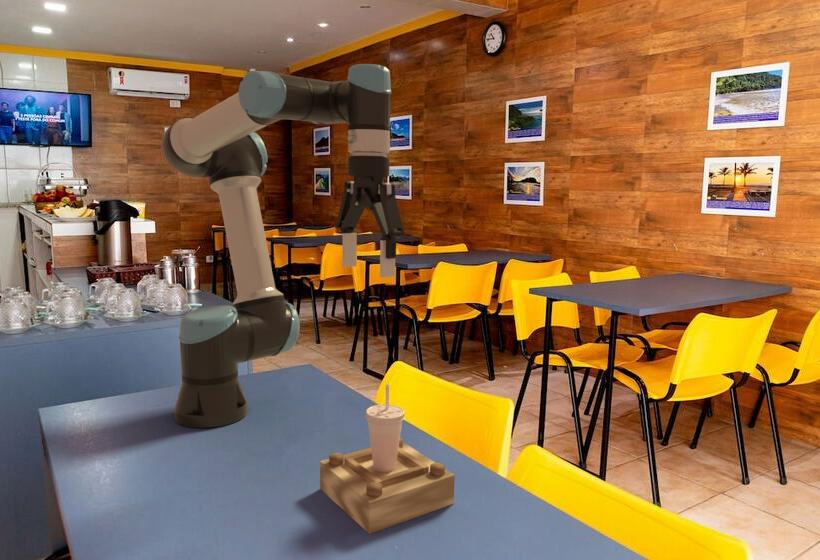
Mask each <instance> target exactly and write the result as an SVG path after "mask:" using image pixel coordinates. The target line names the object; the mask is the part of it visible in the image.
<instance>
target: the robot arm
mask: <svg viewBox="0 0 820 560" xmlns="http://www.w3.org/2000/svg"><path fill="white" fill-rule="evenodd" d="M347 73H348V74H347V80H339V81H327V80H321V79H314V78H307V77H301V76H295V75H290V74H289V75H288V74H283V73H278V72H274V71H268V70H265V71H263V70H262V71H261V70H251V71H249V72H246V74H244V75H243V77H242V78H243V80H241V81H240V83H239V86H238V87H239V88H238V91H237V92H236V93H235V94H233V95H231V96H229V97H227V98H226V99H224V100H222V101H221V102H219V103H217V104H216V105H213V106H212V107H210V108H209V109H207V110H206V111H203V112H202V113H200V114H198V115H196V116H195V117H193V118H191V117H185V118H181V119H179V120H177V121H176V122H174V123H172V124H171V125H170V126H169V127H167V129H166V130H165V132H164V133H163V134H162V135H163V136H162V139H161V151H162V154H163V157H164V159H165V161H167V163H168V165H170V167H171V168H173V170H175V171H176V172H178V173H180V174H181V175H185V176H188V177H193V178H208V181H209V186H210V189H211V190H212V191H213V192H215V193H217V195H218V197H219V203H220V208H221V209H220V210H221V214H222V218H223V223H224V229H225V235H226V238H227V239H226V241H227V245H228V251H229V255H230V261H231V266H232V271H233V277H234V283H235V288H236V292H237V296H236V298H235V300H234V301H233V302H232V305H231V304H230V305H228V304H217V305H207V306H203V307H198V308H196V309H192V310H190V311H189V312H187V313H185V315H183V316H182V318H181V320H180V324H179V337H178V339H179V345H180V346H179V349H180V366H181V367H180V368H181V385H180V388H179V390H178V391H179V392H178V395H177V399H176V402H175V404H174V421H176V423H177V424H179V425H182V426H184V427H190V428H196V429H198V428H200V429H201V428H202V429H203V428H204V429H205V428H208V429H209V428H218V427H223V426H227V425H230V424H233V423H236V422H238V421H241V420H242V419H243V418H245V416H246V415H247V414H248V401H247V398H246V395H245V393H244V391H243V387H242V385H241V382H240V379H239V364H241V363H245V362H250V361H255V360H259V359H263V358H267V357H274V356H275V357H276V356H278V355H280V354H283V353H286V352H289V351H290V350H291V349H293V347H294V346H295V345H296V342H297V340H298V337H299V335H300V328H301V327H300V326H301V325H300V317H299V314H298V311H297V309H295V306H294V305H293V304H292V303H290V302H289V303H288V301H287V302H286V300H285V296H284V293H283V292H281V291H279V290H278V289H277V288H276V283H275V278H274V274H273V271H272V270H273V268H272V262H271V260H270V254H269V248H268V242H267V239H266V232H265V227H264V221H263V218H262V212H261V207H260V201H259V195H258V190H257V189H258V186H260V184H261V182H262V176H264V174H265V172H266V171H267V166H268V165H267V164H268V153H267V148H266V146H265V143H264V141H263V139H262V138H261V136H260V135H259V134H258V133H257V132H258V131H259V130H261V129H263V128H265V127H267V126H269V125H272V124H275V123H276V122H278V121H281V120H292V121H301V122H310V123H313V124H315V125H325V126H332V125H333V124H336V125H337V124H345V123H347V124H348V125H347V131H348V133H347V134H348V135H347V137H346V138H347V141H348V143H347V145H348V146H347V151H348V153H350V154H351V155H349V156H348V157H347V175H348V176H349V177H350V178H354V179H353V181H352V180H351V181H350V180H349V181H348V180H347V181H344V184H343V185H344V186H343V195H342V199H341V203H340V206H339V211H338V215H337V218H336V222H335V227H336V229H337V230H338V229H339V230H340V233H341V234H342V268H351V267H353V268H354V267H357V260H358V259H357V249H358V247H357V246H358V244H357V243H358V242H357V241H358V240H357V239H358V238H357V237H358V236H357V235H358V234H357V232H358V231H357V225H358V223H359V221H360V219H361V217H362V215H363V212H364V211H365V209H366V208H368V210H370V211H371V212H372V213H373V216H374V218H375V221H376V223H377V226H378V228H379V231H380V233H381V235H382V236H381V237H380V243H379V244H380V247H379V248H380V249H379V254H380V255H379V277H380V278H391V277H396V257H397V240H399V239H400V238H404V237H405V232H406V231H405V228H404V225H403V222H402V221H403V220H402V218H401V213H400V209H399V205H398V202H397V196H396V186H395V185H396V184H395V183H394V182H385V181H384V178H388V177H389V176H390V158H389V157H388V156H387V155H388V154H390V153H391V126H390V125H391V100H392V99H391V98H392V97H391V96H392V89H391V88H392V87H391V86H392V85H391V73H390V69H388V68H387V67H386V66H383V65H380V64H375V63H373V64H372V63H360V64H359V63H358V64H354V65H351V66H350V67H349V68H348V72H347ZM256 131H257V132H256Z"/></svg>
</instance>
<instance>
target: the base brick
mask: <svg viewBox="0 0 820 560" xmlns="http://www.w3.org/2000/svg"><path fill="white" fill-rule="evenodd" d="M455 478H456V477H455V474H454V473H452V472H451V471H449V470H448V469H446V466H445V465H444V464H443V463H440V462H435V461H433V460H432V459H430V458H429V457H427V456H426V455H424V454H422V453H421V452H420V451H417V450H416V449H415V448H413V447H412V446H410V445H408V444H407V443H406V442H404V439H403V438H402V437H400V441H399V447H398V454H397V461H396V468H395V469H394V470H392V471H389V472H380V471H377V470H375V469H374V468H373V460H372V452H371V447H368V448H363V449H360V450H356V451H353V452H349V453H345V454H343V453H340V452H334V453H331V454H329V456H328V458H327V459H323V460H320V461H319V489H320V491H322V492H323V493H324V494H325V495H326V496H327V497H328V498H329V499H331V501H333V503H335V504H336V505H337V506H339V508H340V509H341V510H343V512H345V513H346V514H347V515H348V516H349V517H350V518H351V519H352V520H353V521H355V523H357V524H358V525H359V526H360V527H361V528H362V529H363V530H364V531H365V532H367V533H368V534H369V535H371V534H374V533H376V532H380V531H383V530H385V529H387V528H391V527H393V526H396V525H398V524H401V523H403V522H404V523H405V522H407V521H409V520H410V521H411V520H412V519H416V518H418V517H421V516H424V515H426V514H429V513H432V512H434V511H438V510H440V509H443V508H446V507H447V506H452V505H454V504H455V502H454V501H455V500H454V499H455Z"/></svg>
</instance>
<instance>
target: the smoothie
mask: <svg viewBox="0 0 820 560" xmlns="http://www.w3.org/2000/svg"><path fill="white" fill-rule="evenodd" d="M405 418H406V416H405V409H403V407H401V406H398V405H394V404H390V384H389V383H386V384H385V404H383V403H382V404H375V405H371V406H370V407H368V408H366V410H365V419H366V420H367V425H368V434H369V441H370V448H371V452H372V460H373V468H374V469H375V470H377V471H380V472H389V471H392V470H394V469H395V468H396V461H397V454H398V447H399V441H400V438H401V432H402V428H403V427H402V425H403V421H404V420H405Z"/></svg>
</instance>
